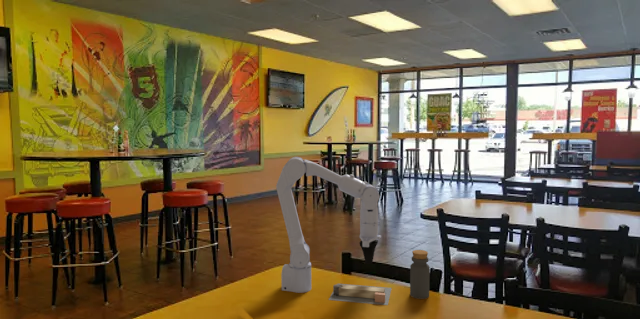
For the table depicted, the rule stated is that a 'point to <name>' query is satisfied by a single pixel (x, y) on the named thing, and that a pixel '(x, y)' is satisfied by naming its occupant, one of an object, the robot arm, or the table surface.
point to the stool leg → (356, 291)
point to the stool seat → (360, 299)
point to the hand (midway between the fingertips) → (368, 262)
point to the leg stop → (380, 297)
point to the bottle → (419, 275)
